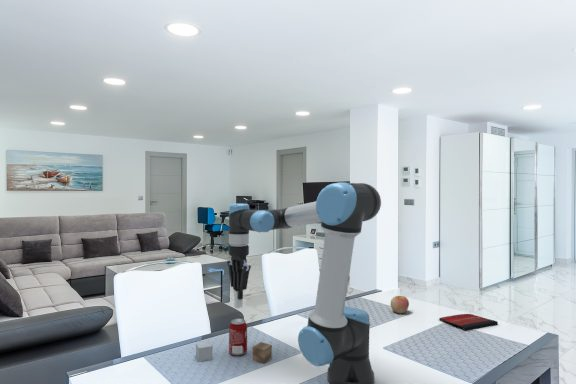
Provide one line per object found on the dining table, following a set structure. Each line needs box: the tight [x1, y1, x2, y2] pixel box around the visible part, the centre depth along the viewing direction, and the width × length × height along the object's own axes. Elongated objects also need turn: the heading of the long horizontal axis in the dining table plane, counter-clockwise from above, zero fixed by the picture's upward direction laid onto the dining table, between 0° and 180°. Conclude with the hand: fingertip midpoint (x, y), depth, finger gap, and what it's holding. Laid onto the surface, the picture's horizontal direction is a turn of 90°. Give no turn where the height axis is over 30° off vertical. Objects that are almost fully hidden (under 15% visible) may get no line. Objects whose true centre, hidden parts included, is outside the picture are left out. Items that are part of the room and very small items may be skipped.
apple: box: [390, 295, 410, 314], centre depth 195 cm, size 9×9×8 cm
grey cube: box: [195, 340, 214, 363], centre depth 142 cm, size 5×5×5 cm
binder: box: [438, 313, 499, 332], centre depth 182 cm, size 16×2×21 cm
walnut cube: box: [252, 341, 273, 364], centre depth 141 cm, size 5×5×5 cm
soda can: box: [228, 318, 248, 356], centre depth 146 cm, size 7×7×12 cm
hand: (238, 307), depth 146 cm, fingers closed
